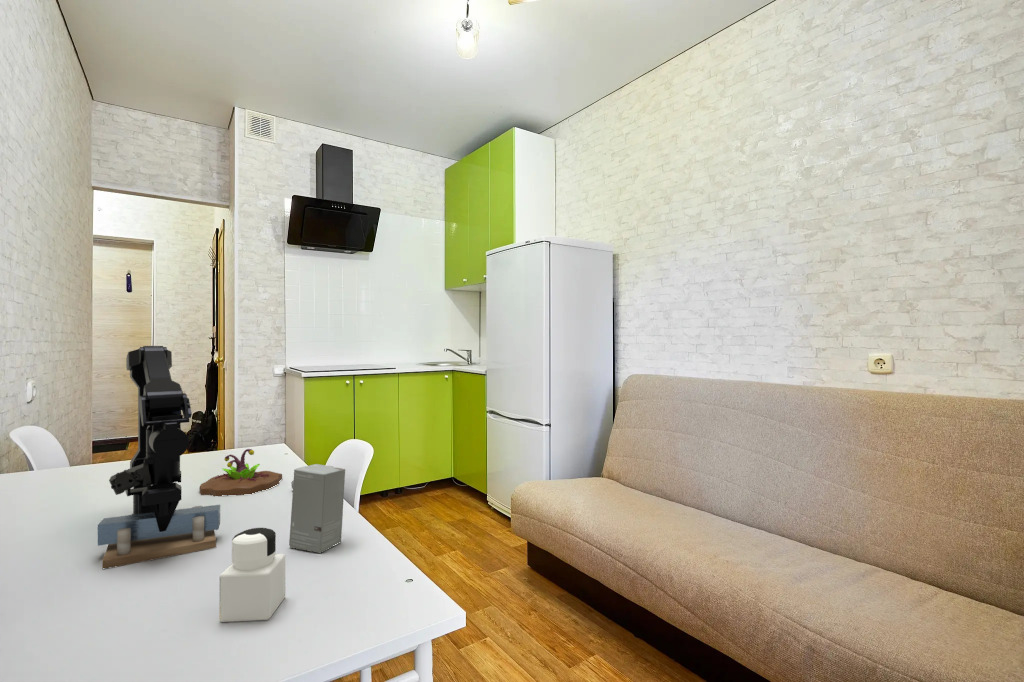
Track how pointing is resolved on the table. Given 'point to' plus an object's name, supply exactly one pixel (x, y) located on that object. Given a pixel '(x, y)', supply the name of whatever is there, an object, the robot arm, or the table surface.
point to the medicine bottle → (252, 577)
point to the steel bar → (148, 528)
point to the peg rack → (157, 545)
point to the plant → (240, 479)
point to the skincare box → (317, 507)
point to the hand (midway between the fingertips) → (163, 527)
